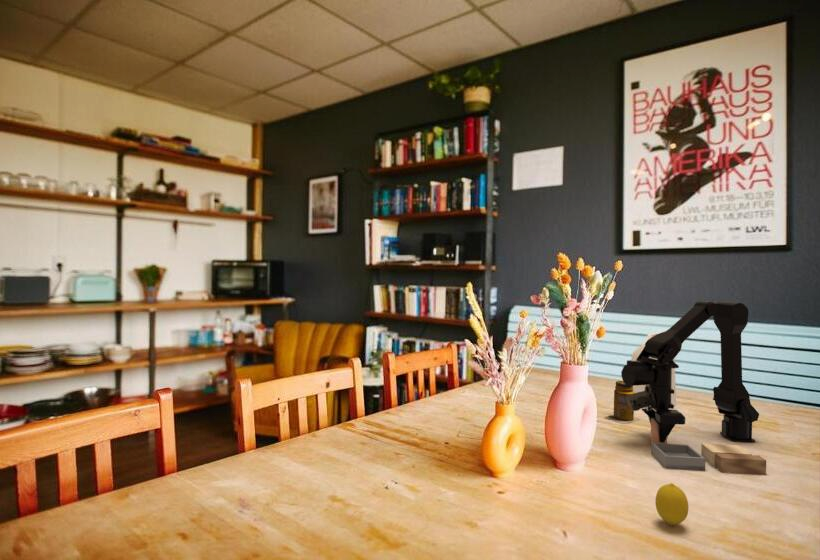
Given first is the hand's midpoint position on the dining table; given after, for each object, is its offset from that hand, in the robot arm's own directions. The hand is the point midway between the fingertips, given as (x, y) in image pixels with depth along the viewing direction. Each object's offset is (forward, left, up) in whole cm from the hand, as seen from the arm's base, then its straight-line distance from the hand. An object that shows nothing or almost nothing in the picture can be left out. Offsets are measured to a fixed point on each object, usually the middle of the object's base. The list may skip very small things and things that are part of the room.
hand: (658, 439), depth 133 cm
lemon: (+14, +44, -2) cm, 46 cm away
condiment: (+3, -23, -2) cm, 23 cm away
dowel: (0, 0, -2) cm, 2 cm away
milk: (-13, -41, -2) cm, 43 cm away
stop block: (-13, +15, -2) cm, 20 cm away
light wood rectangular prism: (-12, +11, -2) cm, 16 cm away
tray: (0, +12, -2) cm, 12 cm away
